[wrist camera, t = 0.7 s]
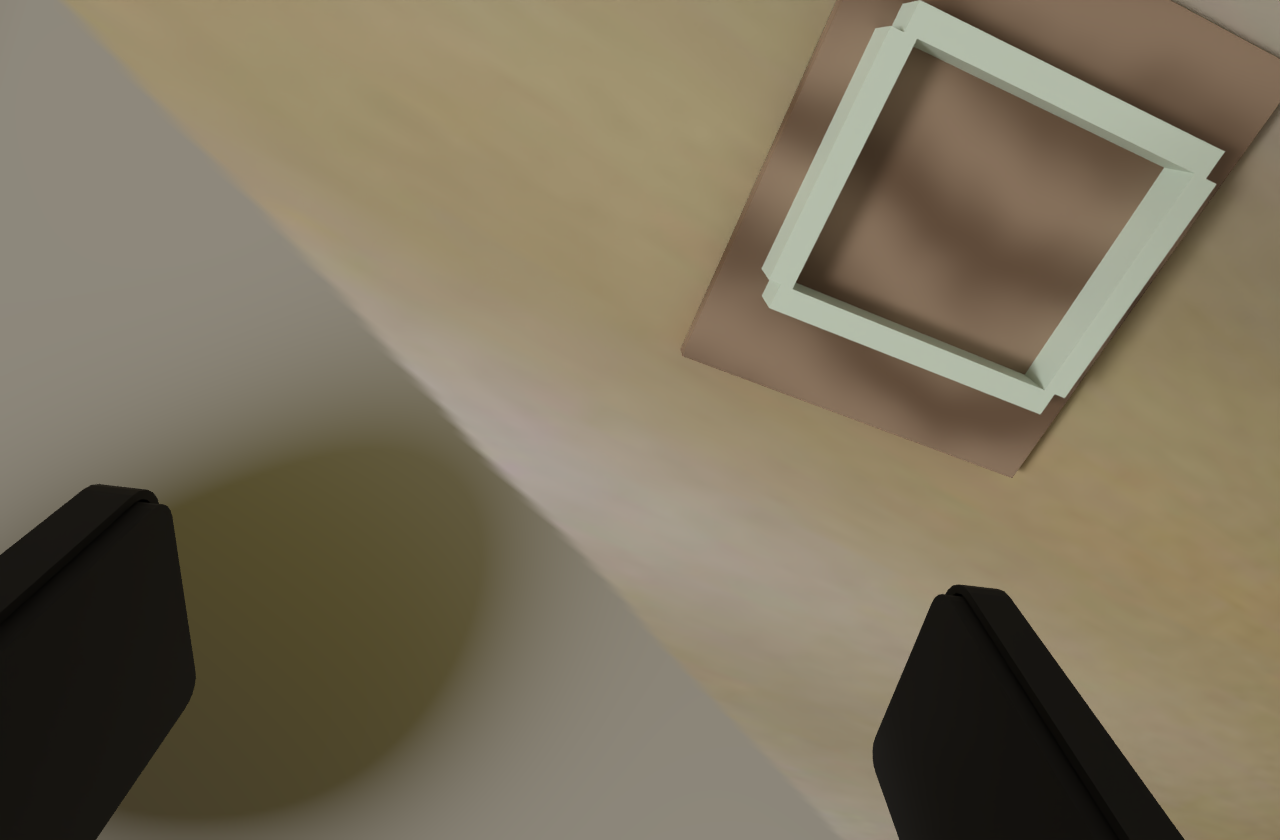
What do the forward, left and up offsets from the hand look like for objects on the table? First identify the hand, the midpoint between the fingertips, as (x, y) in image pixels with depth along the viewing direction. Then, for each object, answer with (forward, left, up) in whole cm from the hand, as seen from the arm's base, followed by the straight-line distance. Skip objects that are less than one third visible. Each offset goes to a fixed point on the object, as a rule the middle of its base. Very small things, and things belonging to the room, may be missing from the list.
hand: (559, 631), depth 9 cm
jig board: (-6, +16, -29) cm, 33 cm away
